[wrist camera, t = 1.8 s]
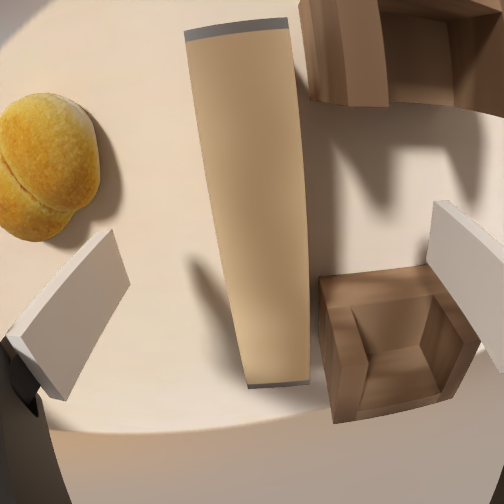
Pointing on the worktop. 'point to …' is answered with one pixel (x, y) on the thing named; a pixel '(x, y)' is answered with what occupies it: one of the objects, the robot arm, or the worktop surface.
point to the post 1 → (405, 52)
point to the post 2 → (391, 341)
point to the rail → (256, 190)
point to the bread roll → (45, 165)
